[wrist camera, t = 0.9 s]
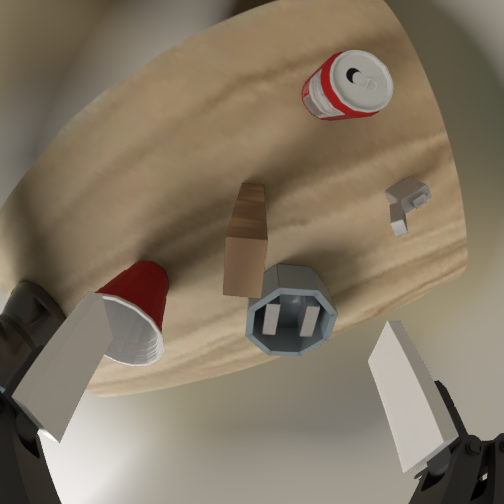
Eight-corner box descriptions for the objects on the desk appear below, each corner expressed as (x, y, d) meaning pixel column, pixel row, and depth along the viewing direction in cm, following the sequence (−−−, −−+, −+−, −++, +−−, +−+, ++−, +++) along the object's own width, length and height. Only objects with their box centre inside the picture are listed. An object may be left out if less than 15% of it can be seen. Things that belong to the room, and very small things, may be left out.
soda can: (357, 92, 25) (409, 76, 14) (335, 129, 27) (379, 131, 16) (314, 66, 24) (346, 31, 13) (292, 104, 26) (312, 87, 15)
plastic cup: (146, 319, 39) (117, 377, 28) (103, 263, 35) (58, 312, 24) (202, 296, 37) (183, 360, 26) (157, 230, 33) (115, 279, 22)
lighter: (409, 176, 29) (445, 192, 21) (414, 188, 29) (449, 206, 22) (365, 203, 30) (393, 225, 23) (370, 214, 31) (398, 240, 24)
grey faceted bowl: (245, 326, 39) (243, 353, 34) (251, 261, 34) (250, 285, 29) (316, 330, 39) (322, 356, 34) (333, 268, 34) (344, 292, 29)
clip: (262, 314, 37) (262, 334, 33) (266, 285, 35) (266, 303, 31) (307, 317, 37) (311, 336, 33) (314, 288, 35) (320, 307, 31)
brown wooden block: (239, 216, 32) (223, 294, 17) (242, 183, 30) (225, 236, 16) (260, 218, 32) (260, 298, 17) (263, 185, 30) (267, 240, 16)
